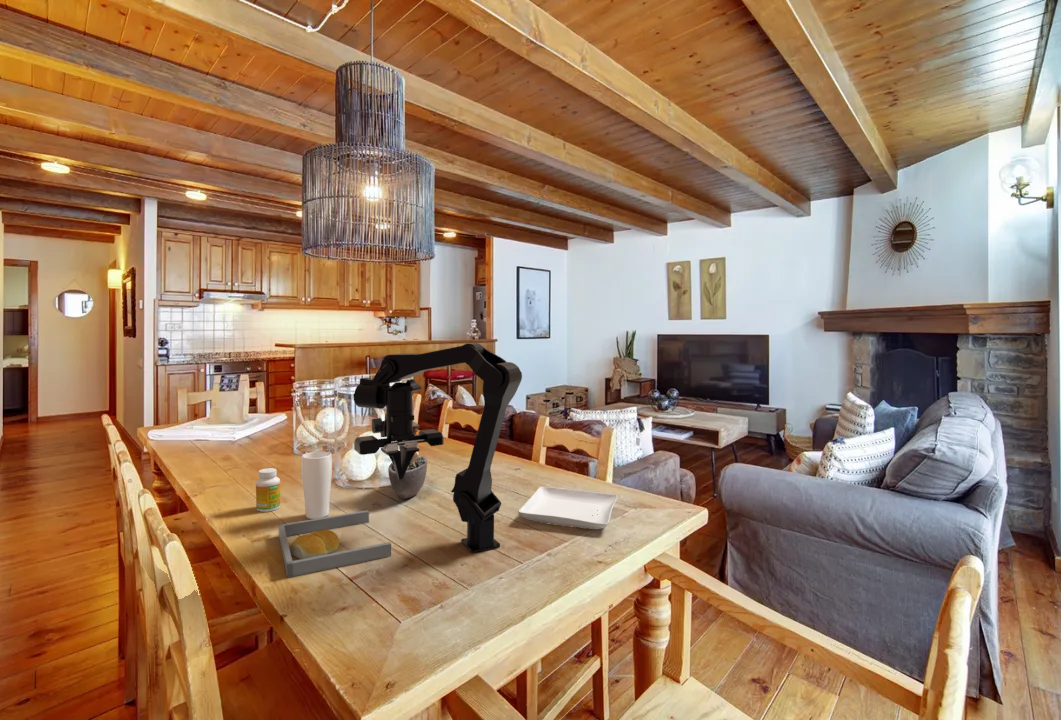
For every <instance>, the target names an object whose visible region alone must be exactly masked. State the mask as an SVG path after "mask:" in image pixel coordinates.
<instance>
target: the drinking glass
mask: <svg viewBox="0 0 1061 720" xmlns="http://www.w3.org/2000/svg"><path fill="white" fill-rule="evenodd" d="M332 459H333V458H332V453H331V452H328V451H311V452H307V453H303V454H302V455H301V459H300V461H301V463H300V464H301V465H300V466H301V480H302V491H303V499H304V508H305V511H304V512H305V514H304V515H305V518H307V519H308V520H311V519H317V518H324V517H329V515H330V503H331V501H330V500H331V489H332V476H333V473H332V472H333V460H332Z"/></svg>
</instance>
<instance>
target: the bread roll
mask: <svg viewBox="0 0 1061 720" xmlns="http://www.w3.org/2000/svg"><path fill="white" fill-rule="evenodd" d="M339 545H340V538H339V536H338V535H337V533H335V531H332V530H331V529H326V530H320V531H315V532H309V533H308V534H307V533H305V534H303V535H302V534H301V535H299V536H297V537H296V538H295V539H294V540H293V541H292V543H291V545H290V546H291V547H290V553H291V556H294V557H295V558H297V559H298V560H300V559H306V558H311V557H316V556H321V555H326V554H331V553H335V552H336V551H337V550H338V547H339Z"/></svg>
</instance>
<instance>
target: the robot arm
mask: <svg viewBox="0 0 1061 720" xmlns="http://www.w3.org/2000/svg"><path fill="white" fill-rule="evenodd" d="M461 364H466V365H467V366H468V367H469V368H470V369H471V371H472V372H473V373H474V374H475V376H477V377H478V378H479V379H481V380H482V395H483V402H484V404H483V409H482V413H481V416H480V419H479V425H478V428H477V433H476V435H475V436H476V437H475V441H474V443H473V447H472V452H471V455H470V459H469V464H468V466H467V468H465V469H464V470H462V471H460V472H458V473H456V475H455V477H454V478H455V479H454V485H453V488H452V490H451V491H450V492H451V493H453V495H452V501H453V503H454V504H455V506H456V508H457V510H458V511H457V512H458V513H459V517H460V521H461V522H463V523H466V524H467V525H466V537H465V538H461V540H460V542H461V543H462V544H463V545H464V547H466V548H467V549H468V550H469V552H470V553H474V554H475V553H477V552H478V553H479V552H483V551H487V550H488V551H489V550H491V549H497V548H500V547H501V543H500V542H499V541H497V540H496V539H495V514H496V513H498V512H499V511H500V510H501V509H500V508H501V506H502V502H501V500H500V499H499V498H498V497H497V496H496V494H495V493H494V491H493V490H492V486H493V477H492V474H491V473H492V471H491V467H492V463H493V459H494V455H495V453H496V448H497V444H498V441H499V437H500V433H501V429H502V426H503V421H504V418H505V413H506V411H507V407H508V406H509V404H510V402H511V401H512V400H513V398H514V396H515V395H516V393H517V391H518V389H519V387H520V385H521V382H522V379H523V374H522V371H521V369H520V367H519V366H518V365H517V364H516V363H514V362H510V361H507V360H505V359H504V358H502V357H501V356H499V355H498V354H495V353H494V352H491V351H490V350H488V349H487V348H486V347H484V346H483V345H482V344H480V343H478V342H471V343H465V344H463V345H460V346H456V347H455V346H454V347H448V348H444V349H440V350H439V349H438V350H434V351H433V350H432V351H429V352H424V353H423V352H422V353H417V352H414V353H413V352H412V353H411V352H407V353H406V352H405V353H394V354H387V355H385V356H384V357H383V358H382V361H381V363H380V367H379V369H378V370H377V372H376V373H375V375H374V377H373V378H371V377H360V378H359V384H357V386H356V387H355V389H354V392H353V401H354V403H355V405H356V406H357V407H359V408H363V409H380V410H383V409H384V408H385V411H386V412H385V414H384V420H383V419H382V418H381V417H379V418H372V419H371V432H372V434H379V433H380V438H377V437H375V436H374V435H366V436H356V438H355V439H354V441H353V446H354V447H353V449H354V451H355V452H357V454H358V455H360V456H361V455H363V456H364V455H372V454H377V452H378V451H379V450H380V451H381V452H382V453H384V454H385V455H386V456H388V457H389V459H390V461H391V463H393V466H394V469H395V472H396V474H397V477H398V479H399V480H401V479H403V478H404V475H405V473H406V470H407V468H408V466H409V463H410V461H411V460H412V458H413V456H414V454H415V452H416V453H418V452H420V448H419V447H418V445H419V444H421V443H427V445H429V446H431V447H435V446H442V445H444V434H443V433H442V432H441V431H438V430H437V429H435V428H431V429H422V430H419V432H418V434H416V435H414V433H413V422H414V421H415V415H414V414H413V412H414V410H413V407H414V406H413V405H414V404H413V392H415V391H416V392H417V391H420V390H422V386H421V385H420V384H419V383H417V382H416V381H415V379H410V378H414V377H415V376H418V375H421V374H422V373H424V372H427V371H429V370H433V369H438V368H446V367H450V366H451V367H452V366H454V365H455V366H456V365H461ZM406 379H408V380H406ZM402 380H406V381H405V382H403V381H402ZM390 384H392V385H390Z"/></svg>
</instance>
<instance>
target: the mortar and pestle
mask: <svg viewBox="0 0 1061 720" xmlns="http://www.w3.org/2000/svg"><path fill="white" fill-rule="evenodd" d="M419 428H420V424H419V423H417V422H416V421H413V433H414V435H417V432H418V429H419ZM427 469H428V459H427V457H425V456H423V455H419V454H418V452H415V454H414V456H413V458H412V460H411V461H410V463H409V466H408V468H407V470H406V473H405V475H404V478H403V479H401V480H399V479H398V477H397V474H396V472H395V469H394V466H393V463H392V462H391V463H390V464H389V465H388V470H387V472H388V478H389V484H390V486H391V488H392V490H393V492H395V493H396V494H397V496H398V497H399V498H400V499H403V500H407V499H410V498H413V497H414V496H416V495H417V494H418V493H420V491H421V488H422V487H423V486H424V484H425V480H426V477H427Z"/></svg>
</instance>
